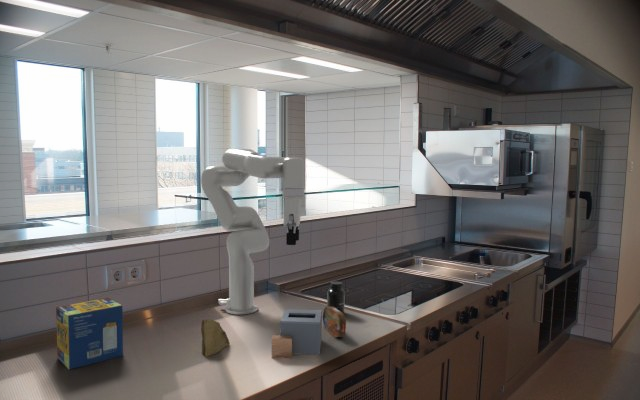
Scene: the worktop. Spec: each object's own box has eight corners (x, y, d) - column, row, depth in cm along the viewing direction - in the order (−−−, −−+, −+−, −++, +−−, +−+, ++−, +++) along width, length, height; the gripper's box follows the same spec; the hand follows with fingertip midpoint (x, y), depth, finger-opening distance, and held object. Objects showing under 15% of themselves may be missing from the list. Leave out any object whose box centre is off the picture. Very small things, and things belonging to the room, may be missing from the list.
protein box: (56, 359, 139) (55, 306, 138) (110, 345, 150) (109, 297, 149) (68, 370, 132) (67, 315, 130) (124, 355, 142) (123, 304, 141)
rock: (225, 332, 156) (195, 333, 151) (233, 316, 151) (202, 317, 146) (231, 362, 149) (200, 364, 144) (240, 346, 144) (208, 347, 139)
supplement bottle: (343, 316, 182) (343, 285, 181) (325, 315, 183) (325, 284, 182) (345, 311, 188) (346, 281, 187) (328, 309, 190) (329, 280, 189)
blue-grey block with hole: (280, 353, 146) (280, 320, 145) (285, 338, 158) (285, 309, 157) (319, 354, 145) (319, 322, 144) (321, 340, 157) (321, 310, 156)
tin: (322, 326, 170) (322, 303, 170) (330, 325, 171) (330, 302, 171) (338, 341, 156) (338, 316, 156) (347, 340, 157) (347, 315, 157)
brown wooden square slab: (291, 358, 142) (291, 339, 141) (271, 358, 142) (271, 338, 142) (292, 355, 144) (292, 336, 144) (272, 354, 145) (273, 335, 144)
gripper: (285, 191, 174) (285, 238, 175) (279, 194, 157) (278, 246, 158) (306, 192, 173) (305, 238, 175) (301, 195, 156) (301, 247, 157)
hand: (292, 242), depth 166 cm, fingers open, 9 cm apart
